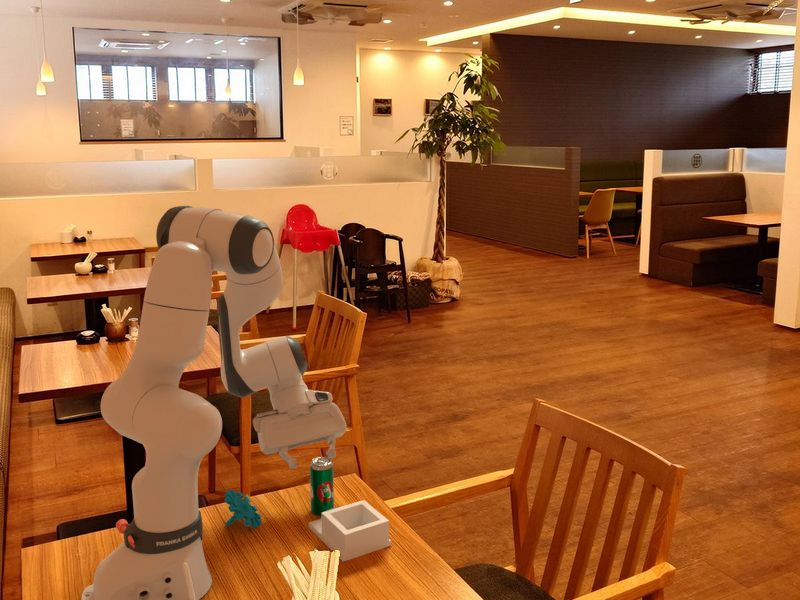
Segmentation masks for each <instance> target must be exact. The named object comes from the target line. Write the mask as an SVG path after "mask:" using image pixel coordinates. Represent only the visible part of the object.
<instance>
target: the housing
mask: <svg viewBox="0 0 800 600" xmlns="http://www.w3.org/2000/svg"><path fill="white" fill-rule="evenodd" d="M320 517H321V518H319V519H315V520H313V521H309V522H308V528H309V529H310V530H311V531H312V532H313V534H314V535H316V537H318V538H319V539H320V540H321V541H322V542H323V544H325V545H326V546H327V548H329V549H330V551H332V550H339V551H340V558H339V560H341V561H342V563H344V562H347V561H349V560H353V559H356V558H359V557H362V556H364V555H367V554H370V553H371V554H372V553H374V552H376V551H379V550H382V549H384V548H388V547H391V546H392V540H391V539H390V520H389V519H388V518H386V516H384V515H383V514H381V513H380V512H379V511H378V510H377V509H376V508H374V507H373V506H372V505H371V504H369V503H368V502H367V501H366V500H365V499H362V500H360V501H355V502H352V503H350V504H346V505H342V506H337V507H336V506H334V508H331V509H330V510H329V511H325V512H322V513H321V516H320Z"/></svg>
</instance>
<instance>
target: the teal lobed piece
mask: <svg viewBox="0 0 800 600" xmlns="http://www.w3.org/2000/svg"><path fill="white" fill-rule="evenodd" d="M223 496H225V499H224V502H225V504H227V505H229V506H227V507H228V510H229V512H230V513H232V514H233V515H232V516H231V517H230V518H229V519H228V520H227V521H225V526H227V527H230V526H231V525H232V524H233V523H234V522H235V521H236V520H237V521H238V522H239V521H241V520H242V519H243V520H244V522H243V525H244V526H245V527H247V528H248V527H251V529H253V530H254V529H257V528H258V527H260V526H261V525H262V524H263V521H261V519H262V515H261V514H260V513H258V510H259V509H258V507H257V506H256V505H252V503H251V502H252V501H251V498H250V496H249V494H246V495H244V494H243V493H242V492H241V491H238V492H236V490H235V489H230V490H227V491H226V492H225V493H224V495H223Z"/></svg>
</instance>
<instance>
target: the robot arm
mask: <svg viewBox="0 0 800 600" xmlns="http://www.w3.org/2000/svg"><path fill="white" fill-rule="evenodd" d="M273 234H274V233H273V232H272V231H271V229H270V227H269V225H268V224H267V222H265V221H264V220H262V219H260V218H258V217H256V216H253V215H242V214H238V213H236V212H231V211H226V210H222V209H220V208H212V207H195V206H194V207H193V206H191V205H179V206H174V207H170V208H169V209H167V210H166V212H164V213H163V215H162V216H161V218H160V219H159V221H158V223H157V227H156V233H155V237H156V238H155V239H156V244H157V249H158V250H157V253H156V255H155V257H154V260H153V262H152V265H151V268H150V272H149V276H148V279H147V283H146V287H145V291H144V297H143V304H142V310H141V317H140V323H139V328H138V333H137V339H136V342H135V346H134V350H133V353H132V354H131V357H130V359H129V361H128V364H127V365H126V366H125V369H124V370H123V372H122V373H121V374H120V376H119V377H118V378H116V379H114V380H113V381H112V382H111V383H110V384H109V385H108V386H107V387H106V389H105V390H104V392H103V393H102V397H101V400H100V412H101V413H100V414H101V416H102V418H103V420H104V421H105V422H106V423H107V424H108V425H109V426H110V427H111V428H112V429H114V430H115V432H116V433H118V434H119V435H121V436H122V437H126V438H128V439H131V440H133V441H135V442H137V443H139V444H142V445H143V447H144V450H145V455H146V459H145V465H144V466H143V467H142V468H140V470H139V471H137V473H136V474H135V475H134V476H133V479H132V482H131V491H132V493H131V494H132V506H133V516H134V517H133V519H132V520H131V522H130V523H128V521H127V520H126V519H125V518H121V519H119V520H118V521H117V522H116V523H115V527H116V529H117V531H118V532H119V534H122V535H123V542H122V543H120V544H119V545H118V546H117V547H116V548H115V549H114V550H113V551H112V552H110V553H109V554H108V555H107V556H106V557H105V558H104V559H103V560H101V561H100V562H99V563H98V564H97V566H96V568H95V569H96V570H95V573H94V576H93V577H94V578H93V583H92V584H90V585H87V586H86V587H85V588H84V590H83V591H82V594H81V597H80V600H201V598H203V597H204V596H205V595H206V594H207V593H208V591H209V590H210V588H211V587H212V583H213V578H212V575H211V572H210V570H209V568H208V564H207V562H206V561H207V560H206V557H205V554H204V553H205V552H204V547H203V542H202V541H203V535H204V534H203V533H204V524H203V523H204V522H203V516H202V512H201V511H200V509H199V491H198V490H199V489H198V485H199V484H198V483H199V482H198V476H199V469H200V466H201V462H202V461H203V458H204V457H205V456H206V455H208V454H209V453H211V451H212V450H214V448H215V447H216V446H217V444H218V442H219V440H220V438H221V434H222V430H223V420H222V416H221V413H220V411H219V409H217V407H216V406H215V405H213V404H212V403H210V401H208V400H206V399H205V398H203V397H202V396H201V395H199V394H197V393H194V392H192V391H188V390H184V389H182V388H179V386H180V385H179V384H180V380H181V378H182V375H183V373H184V371H185V369H186V367H187V366H188V365H189V364H190V363H192V362H194V361H196V360H197V359H199V358H200V357H201V355H202V353H203V352H204V349H205V341H206V335H207V329H208V323H209V321H208V320H209V316H210V309H211V300H212V288H213V285H212V284H213V277H212V276H213V273H214V272H222V273H223V272H224V273H225V277H226V284H225V288H224V291H223V293H222V294H221V295H219V297H218V298H217V302H216V303H217V304H216V318H217V319H216V320H217V329H218V337H219V338H218V339H219V349H220V378H221V381H222V384H223V386H224V388H225V389H226V390H227V393H229V394H230V395H232V396H235V397H238V398H242V399H244V398H246V397H248V396H251V395H253V394H255V393H257V392H259V391H261V390H265V389H267V390H268V391H269V399H270V400H269V401H270V403H271V406H272V408H273V410H269V411H266V412H260V413H257V414H256V416H254V418H253V419H252V425H253V428H254V430H255V432H257V438H258V444H259V448H260V452H262V454H264V455H271V454H276V453H278V454H279V457H281V458H282V460H284V461H285V462H286V463H287V465H288V467H289V469H290V470H291V469H296V468H297V467H298V465H299V463H298V461H297V457H292V456H291V455H290V454H289V453H288V452H289V450H292V449H296V448H301V447H303V446H304V447H305V446H309V445H311V444H312V445H313V444H315V443H320V442H324V441H325V442H326V443H327V445H329V448H328V449H327V450H326V451H325V453H326V455H327V458H330V459H333V458H336V456H337V451H336V449H335V447H336V443H337V438H341V437H342V436H343V435H344V434H345V432H347V428H348V425H347V423H346V419H345V417H344V415H343V413H342V412H341V409H340V408H339V407H338V405H337V404H336V403H334V402H332V401H333V400H334V398H333V395H332V393H331V392H328V391H319V390H312V389H308V385H307V384H306V383H305V381H304V379H303V376H304V375H305V372H306V370H307V368H308V365H309V363H308V361H307V358H306V357H305V355H304V353H303V350H302V345H301V342H300V340H297V339H295V338H294V337H291V336H289V335H286V336H280V337H277V338H270V339H268V340H266V341H264V342H262V343H259V344H257V345H254V346H249V347H247V348H244V349H241V341H240V331H241V330H242V327H243V326H244V325H245V324H246V323H248V321H249V320H251V319H252V318H254V316H256V315H257V314H259V313H261V312H262V311H264V310H266V309H268V308H269V306H271V305H272V304H273V303H274V302H275V301H276V300H277V298H278V297H279V295H280V294H281V291H282V290H283V287H284V274H283V267H282V264H281V260H280V256H279V253H278V249H277V247H276V244H275V240H274V235H273Z"/></svg>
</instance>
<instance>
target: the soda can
mask: <svg viewBox="0 0 800 600" xmlns="http://www.w3.org/2000/svg"><path fill="white" fill-rule="evenodd" d="M310 462H311V463H310V465H309V490H310V492H309V493H310V495H309V496H310V497H309V498H310V512H311V513H312V514H313V515H315V516H316V517H321V513H322V512H325V511H329V510H330V509H331V508H335V497H334V496H335V493H334V492H335V490H334V485H335V484H334V483H335V482H334V477H335V476H334V464H333V462H332V458H328V456H317V457H314V458H313V459H312V460H311V461H310Z"/></svg>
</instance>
